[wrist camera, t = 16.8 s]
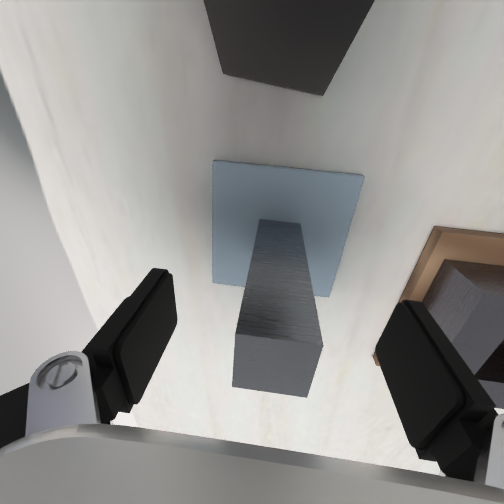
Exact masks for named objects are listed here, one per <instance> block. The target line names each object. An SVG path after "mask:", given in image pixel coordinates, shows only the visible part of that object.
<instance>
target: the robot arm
mask: <svg viewBox="0 0 504 504" xmlns="http://www.w3.org/2000/svg"><path fill="white" fill-rule="evenodd" d="M176 325H177V312H176V303H175V294H174V285H173V276H172V274H170V273H169V272H168V270H166V269H158V268H153V269H152V270H151V271H150V272H149V273H148V275H147V276H146V277H145V278H144V280H143V281H142V282H141V283H140V285H139V286H138V287H137V288H136V290H135V291H134V292H133V293H132V294H131V296H129V297H127V298H126V299H125V300H124V301H123V302H122V303H121V304H120V305H119V307H118V308H117V309H116V310H115V312H114V313H113V314H112V315H111V316H110V318H109V319H108V320H107V321H106V323H105V324H104V325H103V326H102V327H101V329H100V330H99V331H98V332H97V334H96V335H95V336H94V337H93V339H92V340H91V341H90V342H89V343H88V345H87V346H86V347H85V349H83V351H82V352H78V351H68V352H64V353H60V354H58V355H56V356H54V357H51V358H50V359H49V360H47V361H45V362H44V363H43V364H42V365H40V366H39V367H38V368H37V369H36V371H35V372H34V374H33V375H32V377H31V380H30V383H28V384H26V385H23V386H21V387H19V388H17V389H14V390H12V391H10V392H8V393H5V394H3V395H1V396H0V504H504V414H500V415H498V414H497V412H496V411H495V409H494V408H495V407H496V405H495V403H494V402H493V400H492V399H491V398H490V396H489V395H488V394H487V392H486V391H485V389H484V388H483V387H482V385H481V384H480V382H479V381H478V380H477V378H476V377H475V375H474V374H473V373H472V371H471V370H470V368H469V367H468V366H467V364H466V363H465V361H464V360H463V359H462V357H461V356H460V354H459V353H458V352H457V350H456V349H455V347H454V346H453V345H452V343H451V342H450V340H449V339H448V338H447V336H446V335H445V333H444V332H443V331H442V329H441V328H440V326H439V325H438V324H437V322H436V321H435V319H434V318H433V317H432V315H431V314H430V313H429V311H428V310H427V308H426V307H425V306H424V304H423V303H422V302H420V301H413V300H403V301H402V302H401V303H398V304H397V305H396V307H395V309H394V311H393V313H392V315H391V317H390V319H389V321H388V323H387V325H386V327H385V329H384V331H383V333H382V335H381V337H380V339H379V341H378V343H377V345H376V348H375V352H376V356H377V359H378V361H379V364H380V367H381V369H382V372H383V375H384V377H385V380H386V383H387V385H388V388H389V390H390V393H391V396H392V398H393V401H394V404H395V406H396V409H397V412H398V414H399V417H400V420H401V422H402V425H403V428H404V430H405V433H406V435H407V438H408V441H409V443H410V444H411V446H412V447H414V448H415V449H416V452H417V454H418V457H419V459H423V460H429V461H437V463H438V465H439V467H440V469H441V470H440V474H439V475H434V474H428V473H423V472H417V471H411V470H405V469H399V468H393V467H387V466H381V465H375V464H369V463H363V462H357V461H351V460H345V459H339V458H332V457H326V456H320V455H314V454H308V453H301V452H295V451H289V450H283V449H276V448H270V447H264V446H258V445H251V444H245V443H239V442H232V441H226V440H219V439H213V438H206V437H200V436H193V435H187V434H181V433H174V432H167V431H160V430H152V429H145V428H138V427H130V426H121V425H113V423H112V420H113V419H115V417H116V415H117V413H118V411H119V412H125V413H130V411H131V409H132V407H133V405H134V404H138V403H139V402H140V400H141V398H142V396H143V394H144V392H145V390H146V387H147V385H148V383H149V381H150V379H151V377H152V375H153V373H154V371H155V369H156V367H157V365H158V363H159V361H160V359H161V356H162V354H163V352H164V350H165V348H166V346H167V344H168V342H169V340H170V338H171V336H172V334H173V332H174V330H175V327H176Z"/></svg>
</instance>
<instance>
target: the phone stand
mask: <svg viewBox="0 0 504 504" xmlns="http://www.w3.org/2000/svg"><path fill="white" fill-rule="evenodd" d="M374 1H375V0H204V4H205V7H206V11H207V15H208V19H209V22H210V26H211V30H212V34H213V37H214V41H215V45H216V49H217V52H218V56H219V60H220V64H221V67H222V71H223V74H228V75H232V76H237V77H241V78H246V79H250V80H255V81H259V82H264V83H268V84H273V85H277V86H282V87H286V88H291V89H295V90H300V91H304V92H309V93H313V94H318V95H322V96H323V95H324V93H325V91H326V89H327V87H328V86H329V84H330V82H331V80H332V78H333V76H334V74H335V73H336V71H337V69H338V67H339V65H340V63H341V62H342V60H343V58H344V56H345V54H346V52H347V50H348V49H349V47H350V45H351V43H352V41H353V39H354V38H355V36H356V34H357V32H358V30H359V28H360V26H361V25H362V23H363V21H364V19H365V17H366V15H367V13H368V12H369V10H370V8H371V6H372V4H373V2H374Z"/></svg>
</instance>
